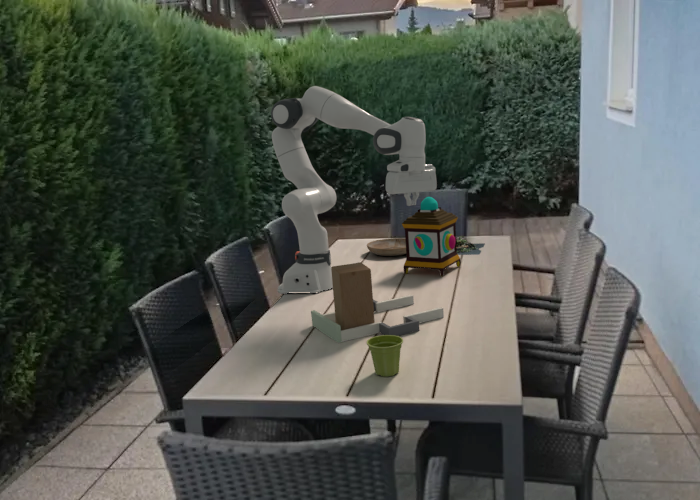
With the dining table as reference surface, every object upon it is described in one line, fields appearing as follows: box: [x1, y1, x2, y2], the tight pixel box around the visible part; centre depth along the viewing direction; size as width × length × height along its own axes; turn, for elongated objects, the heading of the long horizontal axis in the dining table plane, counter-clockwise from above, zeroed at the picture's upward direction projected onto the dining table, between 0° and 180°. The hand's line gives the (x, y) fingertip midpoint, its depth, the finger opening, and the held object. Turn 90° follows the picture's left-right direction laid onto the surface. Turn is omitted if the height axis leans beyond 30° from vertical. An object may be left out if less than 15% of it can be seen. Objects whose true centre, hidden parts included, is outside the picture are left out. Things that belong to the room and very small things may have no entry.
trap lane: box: [310, 294, 445, 344], centre depth 218 cm, size 37×19×5 cm, turn 116°
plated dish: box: [456, 235, 486, 256], centre depth 311 cm, size 35×28×7 cm
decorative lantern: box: [401, 196, 462, 277], centre depth 274 cm, size 20×20×30 cm
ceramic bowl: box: [366, 237, 406, 257], centre depth 312 cm, size 23×24×5 cm
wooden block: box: [331, 262, 376, 331], centre depth 210 cm, size 10×10×20 cm
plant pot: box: [366, 334, 404, 378], centre depth 177 cm, size 9×9×9 cm
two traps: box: [373, 299, 420, 337], centre depth 219 cm, size 10×31×3 cm, turn 26°
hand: (411, 205), depth 238 cm, fingers closed
